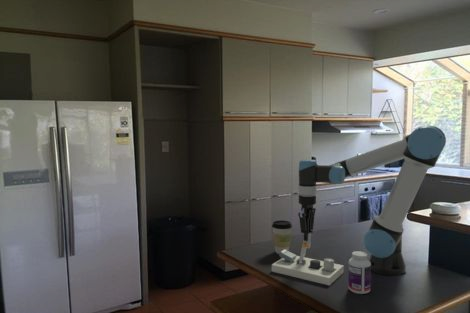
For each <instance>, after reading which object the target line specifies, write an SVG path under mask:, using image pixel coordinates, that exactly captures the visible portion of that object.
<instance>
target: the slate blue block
mask: <svg viewBox="0 0 470 313" xmlns="http://www.w3.org/2000/svg"><path fill="white" fill-rule="evenodd" d="M278 255H279V256H278V257H280V258H281V259H282V258H284V259H286V260H288V261H289V262H292V261H293V260H295V259H296V256H297V255H296V254H295V253H292V252H291V251H290V250H289V251H287V250H285V249H284V250H283V251H281V252H280V254H278Z"/></svg>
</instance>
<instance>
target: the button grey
mask: <svg viewBox="0 0 470 313" xmlns="http://www.w3.org/2000/svg"><path fill="white" fill-rule="evenodd" d="M323 261H324V271H328V272H332V271H334V264H335V259H333V258H323Z"/></svg>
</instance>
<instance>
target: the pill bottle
mask: <svg viewBox="0 0 470 313" xmlns="http://www.w3.org/2000/svg"><path fill="white" fill-rule="evenodd" d="M371 275H372V270H371V262H370V261H369V259H368V253H367V252H364V251H360V250H359V251H357V250H356V251H355V250H354V251H353V252H351V258H350V259H348V276H347V278H348V279H347V280H348V282H347V283H348V284H347V285H348V286H347V288H348V290H350V291H351V292H352V293H354V294H356V295H357V294H358V295H363V294H368V293H370V292H371V289H372V287H371V286H372V285H371V283H372V282H371V280H372V278H371V277H372V276H371Z"/></svg>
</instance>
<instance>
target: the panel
mask: <svg viewBox="0 0 470 313" xmlns="http://www.w3.org/2000/svg"><path fill="white" fill-rule="evenodd" d="M299 258H300V255H296V259H295V260H293V261H292V262H289V261H288V260H286V259H284V258H282V257H281V258H280V259H279V260H277V261H275V262H273V263H272V264H271V272H273V273H277V274H279V275H280V274H281V275H285V276H289V277H294V278H298V279H301V280H305V281H309V282H313V283H317V284H322V285H326V286H331V285H332V284H333V283H334V282H335V281H336V280H337V279H338V278H340V276H341V275H343V274H344V271H345V267H344V265H343V264H338V263H334V271H332V272H328V271H324V260H319V259H317V260H318V261H320V269H319V270H317V269H312V268H310V261H311V260H316V259H314V258H310V257H305V258H304V260H303V261H302V262H299Z"/></svg>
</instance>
